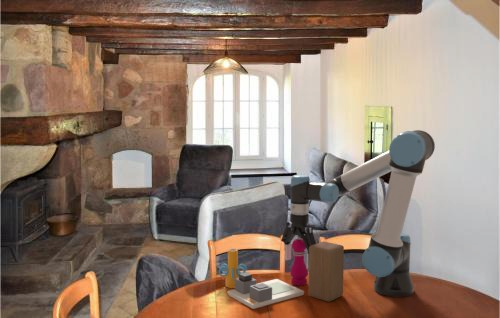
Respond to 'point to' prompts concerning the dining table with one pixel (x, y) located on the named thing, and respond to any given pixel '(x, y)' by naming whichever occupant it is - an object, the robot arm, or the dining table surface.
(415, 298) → the dining table surface
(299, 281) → the pepper mill
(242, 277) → the block
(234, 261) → the yellow post with loops
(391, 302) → the dining table surface
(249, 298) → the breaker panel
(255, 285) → the block
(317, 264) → the wooden block
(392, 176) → the robot arm
